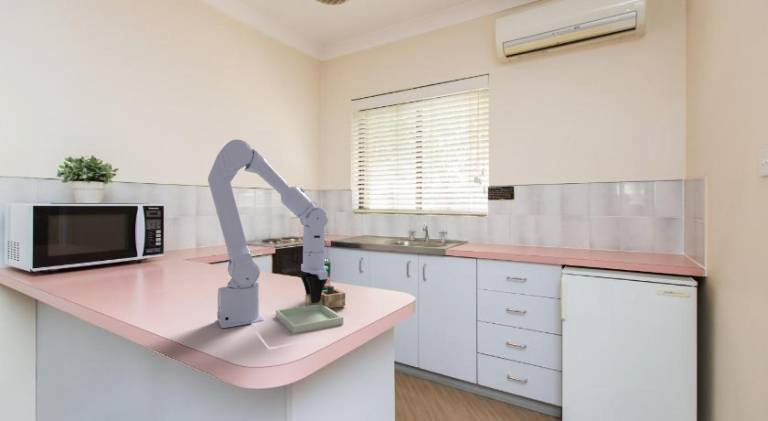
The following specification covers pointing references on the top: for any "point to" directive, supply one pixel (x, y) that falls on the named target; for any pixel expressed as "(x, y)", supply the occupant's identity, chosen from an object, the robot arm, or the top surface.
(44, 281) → the top surface
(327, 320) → the tray
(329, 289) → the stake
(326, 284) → the soda can
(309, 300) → the tan frame with handle
